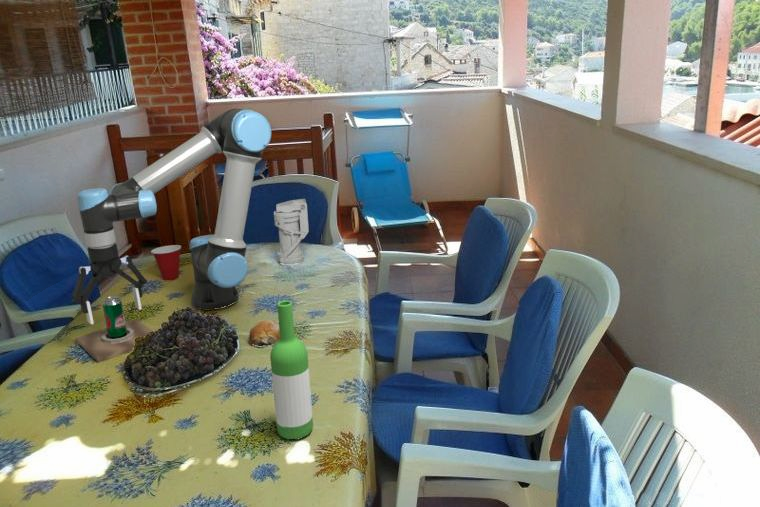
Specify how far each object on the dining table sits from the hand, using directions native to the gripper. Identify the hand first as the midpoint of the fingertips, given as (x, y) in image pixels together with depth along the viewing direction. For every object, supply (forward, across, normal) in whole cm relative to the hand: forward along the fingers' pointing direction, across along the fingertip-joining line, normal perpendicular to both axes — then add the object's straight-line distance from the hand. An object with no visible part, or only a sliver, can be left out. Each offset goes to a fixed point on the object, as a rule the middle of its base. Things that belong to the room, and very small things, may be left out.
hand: (115, 315), depth 173 cm
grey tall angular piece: (+9, -78, -22) cm, 81 cm away
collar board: (+8, 0, 0) cm, 8 cm away
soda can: (+7, 0, 0) cm, 7 cm away
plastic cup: (+9, -35, -42) cm, 55 cm away
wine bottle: (+9, -10, +74) cm, 75 cm away
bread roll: (+9, -30, +31) cm, 44 cm away
